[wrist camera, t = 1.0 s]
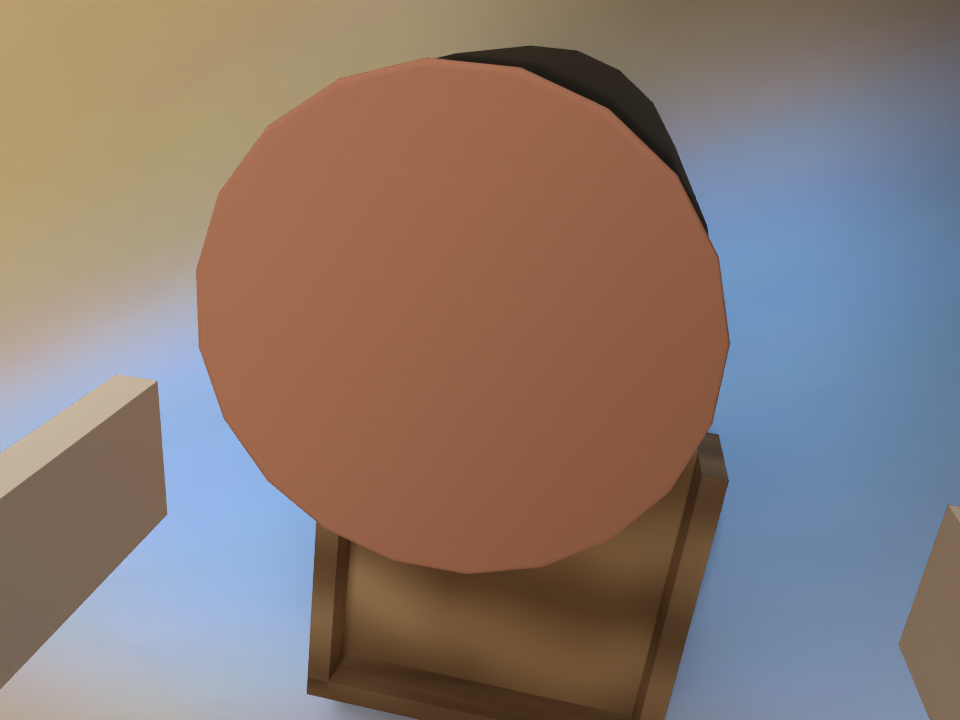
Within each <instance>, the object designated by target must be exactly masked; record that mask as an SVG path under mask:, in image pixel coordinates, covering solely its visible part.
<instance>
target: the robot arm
mask: <svg viewBox="0 0 960 720" xmlns="http://www.w3.org/2000/svg"><path fill="white" fill-rule="evenodd" d="M166 515H167V504H166V490H165V477H164V463H163V450H162V437H161V423H160V410H159V396H158V383H157V381H155V380H149V379H142V378H136V377H130V376H123V375H115V376H114V377H112V378H111V379H109V380H108V381H107V382H105V383H104V384H102V385H101V386H99V387H98V388H96V389H95V390H93V391H92V392H90V393H89V394H87V395H86V396H84V397H83V398H81V399H80V400H79V401H77V402H76V403H74V404H73V405H71V406H70V407H68V408H67V409H65V410H64V411H62V412H61V413H59V414H58V415H56V416H55V417H54V418H52V419H51V420H49V421H48V422H46V423H45V424H43V425H42V426H40V427H39V428H37V429H36V430H34V431H33V432H31V433H30V434H29V435H27V436H26V437H24V438H23V439H21V440H20V441H18V442H17V443H15V444H14V445H12V446H11V447H9V448H8V449H6V450H5V451H3V452H2V453H1V454H0V689H1V688H2V687H3V686H4V685H5V684H6V683H7V682H8V681H9V680H10V679H11V678H12V677H13V675H14V674H15V673H16V672H17V671H18V670H19V669H20V668H21V667H22V666H23V665H24V664H25V663H26V662H27V661H28V660H29V659H30V658H31V657H32V656H33V655H34V653H35V652H36V651H37V650H38V649H39V648H40V647H41V646H42V645H43V644H44V643H45V642H46V641H47V640H48V639H49V638H50V637H51V636H52V635H53V634H54V633H55V631H56V630H57V629H58V628H59V627H60V626H61V625H62V624H63V623H64V622H65V621H66V620H67V619H68V618H69V617H70V616H71V615H72V614H73V613H74V612H75V610H76V609H77V608H78V607H79V606H80V605H81V604H82V603H83V602H84V601H85V600H86V599H87V598H88V597H89V596H90V595H91V594H92V593H93V592H94V591H95V590H96V588H97V587H98V586H99V585H100V584H101V583H102V582H103V581H104V580H105V579H106V578H107V577H108V576H109V575H110V574H111V573H112V572H113V571H114V570H115V569H116V567H117V566H118V565H119V564H120V563H121V562H122V561H123V560H124V559H125V558H126V557H127V556H128V555H129V554H130V553H131V552H132V551H133V550H134V549H135V548H136V547H137V545H138V544H139V543H140V542H141V541H142V540H143V539H144V538H145V537H146V536H147V535H148V534H149V533H150V532H151V531H152V530H153V529H154V528H155V527H156V526H157V525H158V523H159V522H160V521H161V520H162V519H163V518H164V517H165V516H166ZM899 647H900V649H901V651H902V654H903V656H904V659H905V661H906V663H907V666H908V668H909V671H910V673H911V675H912V678H913V680H914V683H915V685H916V687H917V690H918V692H919V695H920V697H921V700H922V702H923V704H924V707H925V709H926V712H927V714H928V716H929V719H930V720H960V506H954V505H948V506H947V509H946V512H945V515H944V518H943V520H942V523H941V526H940V529H939V532H938V535H937V537H936V540H935V543H934V546H933V549H932V552H931V554H930V557H929V560H928V563H927V566H926V569H925V571H924V574H923V577H922V580H921V583H920V586H919V588H918V591H917V594H916V597H915V600H914V603H913V605H912V608H911V611H910V614H909V617H908V619H907V622H906V625H905V628H904V631H903V634H902V636H901V639H900V642H899Z"/></svg>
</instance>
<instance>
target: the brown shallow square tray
mask: <svg viewBox="0 0 960 720" xmlns="http://www.w3.org/2000/svg"><path fill="white" fill-rule="evenodd" d="M728 482H729V480H728V476H727V471H726V467H725V462H724V458H723V453H722V449H721V444H720V440H719V435H717V434H711V433H706V434H705V436H704V438H703V439H702V441H701V442H700V444H699V446H698V447H697V449H696V450H695V452H694V454H693V455H692V457H691V458H690V460H689V462H688V463H687V465H686V466H685V468H684V470H683V471H682V473H681V474H680V476H679V478H678V479H677V481H676V482H675V484H674V486H673V487H672V489H671V490H670V492H669V493H667V494H666V495H665V496H664V497H662V498H661V499H660V500H659V501H658V502H656V503H655V504H654V505H653V506H651V507H650V508H649V509H648V510H647V511H645V512H644V513H643V514H642V515H640V516H639V517H638V518H637V519H636V520H634V521H633V522H632V523H631V524H629V525H628V526H627V527H626V528H625V529H623V530H622V531H621V532H620V533H618V534H617V535H616V536H615V537H614V538H612V539H611V540H609V541H606V542H604V543H601V544H599V545H596V546H594V547H591V548H589V549H586V550H584V551H581V552H579V553H576V554H574V555H571V556H568V557H566V558H563V559H561V560H558V561H556V562H553V563H551V564H548V565H546V566H543V567H539V568H528V569H517V570H506V571H495V572H484V573H473V574H464V573H458V572H453V571H447V570H442V569H436V568H431V567H425V566H420V565H414V564H409V563H403V562H398V561H393V560H391V559H389V558H386V557H384V556H382V555H380V554H378V553H376V552H374V551H372V550H369V549H367V548H365V547H363V546H361V545H359V544H357V543H354V542H352V541H350V540H348V539H346V538H344V537H342V536H339V535H337V534H335V533H333V532H331V531H329V530H327V529H325V528H324V527H323V526H321V525H320V524H319V523H318V522H317V521H316V538H315V556H314V574H313V592H312V610H311V628H310V646H309V664H308V682H307V694H309V695H314V696H318V697H323V698H327V699H332V700H336V701H340V702H345V703H349V704H354V705H358V706H362V707H367V708H371V709H376V710H380V711H384V712H389V713H393V714H398V715H402V716H406V717H411V718H415V719H420V720H664V719H665V715H666V711H667V708H668V704H669V700H670V697H671V693H672V689H673V686H674V682H675V678H676V674H677V671H678V667H679V663H680V660H681V656H682V652H683V649H684V645H685V641H686V637H687V634H688V630H689V626H690V623H691V619H692V615H693V612H694V608H695V604H696V601H697V597H698V593H699V589H700V586H701V582H702V578H703V575H704V571H705V567H706V564H707V560H708V556H709V552H710V549H711V545H712V541H713V538H714V534H715V530H716V527H717V523H718V519H719V515H720V512H721V508H722V504H723V501H724V497H725V493H726V490H727V486H728Z"/></svg>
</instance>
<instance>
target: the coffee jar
mask: <svg viewBox="0 0 960 720" xmlns="http://www.w3.org/2000/svg"><path fill="white" fill-rule="evenodd" d="M196 280H197V307H198V335H199V348H200V351H201V354H202V357H203V360H204V363H205V366H206V369H207V371H208V374H209V377H210V380H211V383H212V386H213V389H214V392H215V394H216V397H217V400H218V403H219V406H220V409H221V412H222V414H223V417H224V420H225V421H226V422H227V424H228V425H229V427H230V428H231V429H232V431H233V432H234V434H235V435H236V437H237V438H238V439H239V441H240V442H241V444H242V445H243V447H244V448H245V449H246V451H247V452H248V454H249V455H250V456H251V458H252V459H253V461H254V462H255V464H256V465H257V466H258V468H259V469H260V471H261V472H262V474H263V475H264V476H265V478H266V479H267V481H268V482H270V483H271V484H272V485H273V486H274V487H276V488H277V489H278V490H279V491H280V492H282V493H283V494H284V495H285V496H286V497H288V498H289V499H290V500H291V501H293V502H294V503H295V504H296V505H297V506H299V507H300V508H301V509H302V510H303V511H305V512H306V513H307V514H308V515H309V516H311V517H312V518H313V519H314V520H315V521H317V522H318V523H319V524H320V525H321V526H323V527H324V528H325V529H327V530H329V531H331V532H333V533H335V534H337V535H339V536H342V537H344V538H346V539H348V540H350V541H352V542H354V543H357V544H359V545H361V546H363V547H365V548H367V549H369V550H372V551H374V552H376V553H378V554H380V555H382V556H384V557H386V558H389V559H391V560H393V561H398V562H403V563H409V564H414V565H420V566H425V567H431V568H436V569H442V570H447V571H453V572H458V573H464V574H473V573H484V572H495V571H506V570H517V569H528V568H539V567H543V566H546V565H548V564H551V563H553V562H556V561H558V560H561V559H563V558H566V557H568V556H571V555H574V554H576V553H579V552H581V551H584V550H586V549H589V548H591V547H594V546H596V545H599V544H601V543H604V542H606V541H609V540H611V539H612V538H614V537H615V536H616V535H617V534H618V533H620V532H621V531H622V530H623V529H625V528H626V527H627V526H628V525H629V524H631V523H632V522H633V521H634V520H636V519H637V518H638V517H639V516H640V515H642V514H643V513H644V512H645V511H647V510H648V509H649V508H650V507H651V506H653V505H654V504H655V503H656V502H658V501H659V500H660V499H661V498H662V497H664V496H665V495H666V494H667V493H669V492H670V490H671V489H672V487H673V486H674V484H675V482H676V481H677V479H678V478H679V476H680V474H681V473H682V471H683V470H684V468H685V466H686V465H687V463H688V462H689V460H690V458H691V457H692V455H693V454H694V452H695V450H696V449H697V447H698V446H699V444H700V442H701V441H702V439H703V438H704V436H705V434H706V433H707V431H708V430H709V428H710V426H711V425H712V423H713V418H714V413H715V409H716V404H717V400H718V395H719V391H720V386H721V382H722V377H723V372H724V368H725V363H726V359H727V354H728V350H729V345H730V340H729V333H728V325H727V317H726V309H725V302H724V294H723V286H722V278H721V271H720V263H719V257H718V255H717V253H716V251H715V249H714V247H713V245H712V243H711V241H710V239H709V236H708V229H707V224H706V222H705V220H704V217H703V215H702V212H701V210H700V207H699V205H698V202H697V200H696V197H695V195H694V192H693V190H692V187H691V185H690V183H689V180H688V178H687V175H686V173H685V170H684V168H683V165H682V163H681V160H680V158H679V155H678V153H677V150H676V148H675V146H674V144H673V142H672V140H671V138H670V136H669V134H668V132H667V130H666V128H665V126H664V124H663V122H662V120H661V118H660V116H659V114H658V112H657V110H656V108H655V106H654V104H653V103H652V102H651V101H650V100H649V99H648V98H647V97H646V96H645V95H644V94H643V93H642V92H641V91H640V90H639V89H638V88H637V87H636V86H635V85H634V84H633V83H632V82H631V81H630V80H629V79H628V78H627V77H626V76H625V75H624V74H623V73H622V72H621V71H620V70H617V69H615V68H613V67H611V66H609V65H607V64H605V63H603V62H600V61H598V60H596V59H594V58H592V57H590V56H588V55H586V54H583V53H581V52H579V51H577V50H567V49H557V48H548V47H538V46H523V47H514V48H504V49H494V50H485V51H475V52H466V53H456V54H452V55H448V56H443V57H439V58H423V59H419V60H415V61H410V62H406V63H402V64H398V65H394V66H390V67H386V68H381V69H377V70H373V71H369V72H365V73H361V74H357V75H352V76H348V77H344V78H340V79H338V80H336V81H335V82H333V83H332V84H330V85H329V86H327V87H326V88H324V89H323V90H321V91H320V92H318V93H317V94H315V95H314V96H312V97H311V98H309V99H308V100H306V101H305V102H303V103H302V104H300V105H299V106H297V107H296V108H294V109H293V110H291V111H290V112H288V113H287V114H285V115H284V116H282V117H281V118H279V119H278V120H276V121H275V122H273V123H272V124H270V125H269V126H267V128H266V129H265V130H264V132H263V133H262V134H261V136H260V137H259V139H258V140H257V141H256V143H255V144H254V145H253V147H252V148H251V150H250V151H249V152H248V154H247V155H246V156H245V158H244V159H243V161H242V162H241V163H240V165H239V166H238V167H237V169H236V170H235V172H234V173H233V174H232V176H231V177H230V178H229V180H228V181H227V183H226V184H225V185H224V187H223V188H222V189H221V191H220V192H219V194H218V197H217V201H216V204H215V208H214V211H213V214H212V218H211V221H210V225H209V228H208V231H207V235H206V238H205V242H204V245H203V248H202V252H201V255H200V259H199V262H198V265H197V269H196Z"/></svg>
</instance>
